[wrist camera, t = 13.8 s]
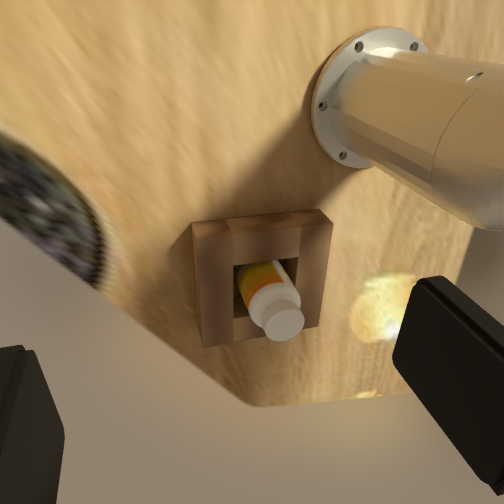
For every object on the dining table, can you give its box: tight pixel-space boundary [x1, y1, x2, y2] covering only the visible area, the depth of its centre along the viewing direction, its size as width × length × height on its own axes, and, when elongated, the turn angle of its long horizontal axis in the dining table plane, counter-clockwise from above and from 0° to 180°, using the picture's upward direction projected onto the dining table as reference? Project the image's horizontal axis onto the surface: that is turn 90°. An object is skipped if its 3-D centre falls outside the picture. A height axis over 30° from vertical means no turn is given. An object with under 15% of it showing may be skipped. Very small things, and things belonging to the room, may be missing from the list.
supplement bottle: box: [234, 260, 305, 341], centre depth 40 cm, size 5×5×10 cm
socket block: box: [191, 209, 333, 348], centre depth 43 cm, size 14×14×4 cm
